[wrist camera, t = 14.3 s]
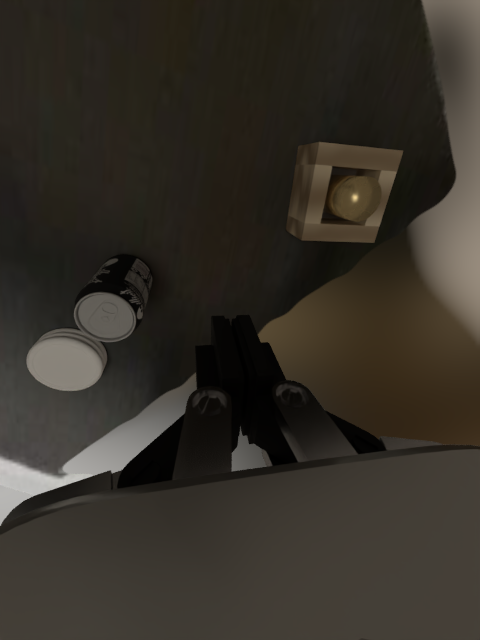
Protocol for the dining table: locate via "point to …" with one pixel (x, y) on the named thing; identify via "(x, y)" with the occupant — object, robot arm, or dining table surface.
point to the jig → (313, 185)
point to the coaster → (67, 359)
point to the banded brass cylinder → (352, 197)
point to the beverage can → (114, 299)
